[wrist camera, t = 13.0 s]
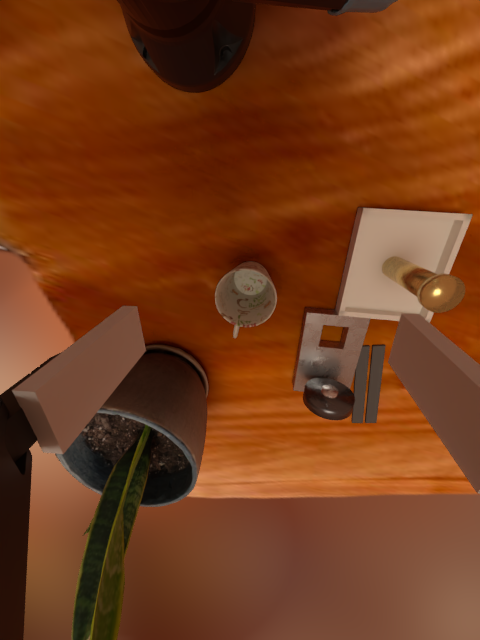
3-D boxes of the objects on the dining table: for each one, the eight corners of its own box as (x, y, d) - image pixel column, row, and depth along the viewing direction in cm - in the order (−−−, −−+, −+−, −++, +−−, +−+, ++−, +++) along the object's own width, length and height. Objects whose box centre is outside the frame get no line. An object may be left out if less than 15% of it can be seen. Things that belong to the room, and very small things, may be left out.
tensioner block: (305, 306, 45) (314, 337, 35) (365, 312, 44) (392, 344, 34) (292, 382, 52) (297, 425, 42) (344, 387, 51) (361, 433, 41)
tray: (357, 207, 38) (363, 207, 36) (460, 213, 37) (472, 214, 35) (335, 309, 45) (338, 315, 42) (421, 317, 44) (429, 323, 41)
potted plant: (173, 432, 61) (32, 767, 25) (100, 370, 56) (-212, 684, 20) (241, 390, 54) (181, 776, 18) (165, 314, 49) (-142, 648, 12)
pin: (382, 252, 40) (429, 274, 28) (411, 254, 39) (471, 277, 27) (375, 279, 41) (416, 310, 30) (402, 281, 41) (455, 314, 29)
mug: (281, 260, 42) (284, 276, 33) (263, 328, 48) (261, 358, 39) (231, 248, 42) (219, 262, 33) (218, 317, 48) (206, 345, 39)
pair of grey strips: (356, 345, 47) (357, 347, 47) (384, 344, 46) (385, 345, 46) (351, 421, 54) (352, 422, 54) (375, 421, 54) (376, 422, 53)
